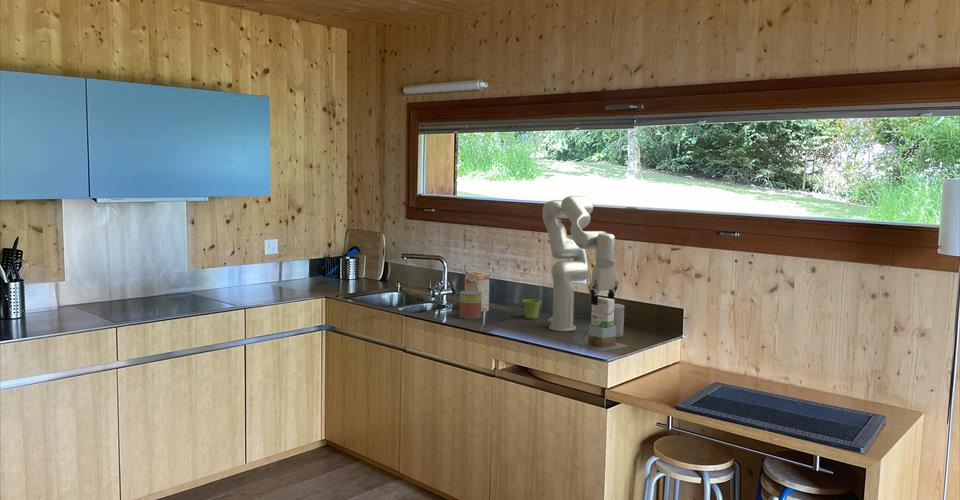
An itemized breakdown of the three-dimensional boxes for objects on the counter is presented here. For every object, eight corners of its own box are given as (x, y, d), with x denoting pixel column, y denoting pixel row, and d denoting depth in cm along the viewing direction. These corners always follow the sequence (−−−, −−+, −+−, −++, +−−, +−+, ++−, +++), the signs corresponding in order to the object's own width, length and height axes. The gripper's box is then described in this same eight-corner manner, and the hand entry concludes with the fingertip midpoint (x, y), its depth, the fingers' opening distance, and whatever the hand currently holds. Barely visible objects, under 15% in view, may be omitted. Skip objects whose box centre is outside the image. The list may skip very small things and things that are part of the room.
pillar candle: (597, 333, 327) (598, 301, 325) (615, 332, 331) (616, 299, 329) (609, 338, 318) (610, 305, 316) (627, 337, 322) (629, 303, 320)
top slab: (588, 334, 305) (588, 325, 305) (601, 332, 310) (602, 323, 309) (602, 338, 299) (602, 328, 298) (615, 335, 303) (616, 326, 303)
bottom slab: (588, 343, 306) (588, 334, 305) (601, 341, 310) (601, 332, 310) (601, 347, 299) (602, 338, 299) (615, 345, 304) (615, 335, 303)
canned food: (483, 314, 365) (484, 291, 364) (478, 319, 354) (478, 295, 353) (462, 313, 368) (462, 290, 367) (456, 317, 357) (456, 293, 356)
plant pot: (518, 317, 361) (518, 300, 360) (532, 315, 367) (532, 298, 366) (530, 320, 353) (530, 303, 353) (544, 318, 359) (545, 301, 358)
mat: (574, 344, 307) (574, 343, 306) (601, 339, 316) (601, 338, 316) (602, 351, 294) (602, 351, 294) (629, 346, 303) (629, 345, 303)
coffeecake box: (463, 307, 385) (464, 270, 383) (475, 306, 389) (476, 270, 387) (477, 312, 372) (477, 274, 370) (489, 311, 376) (489, 273, 374)
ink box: (614, 326, 303) (615, 298, 301) (607, 328, 299) (608, 300, 298) (597, 323, 309) (598, 296, 308) (590, 324, 305) (591, 297, 304)
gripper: (612, 260, 309) (610, 300, 311) (583, 263, 299) (581, 303, 301) (625, 263, 303) (623, 303, 305) (596, 265, 293) (594, 307, 295)
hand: (602, 303), depth 303 cm, fingers open, 9 cm apart
